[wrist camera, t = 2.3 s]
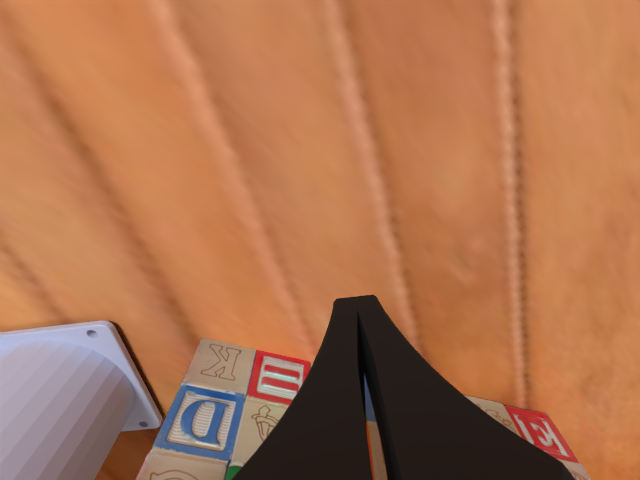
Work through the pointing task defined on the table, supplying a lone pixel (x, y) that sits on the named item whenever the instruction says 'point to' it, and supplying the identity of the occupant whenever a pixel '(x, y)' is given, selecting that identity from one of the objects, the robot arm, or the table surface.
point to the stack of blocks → (277, 416)
